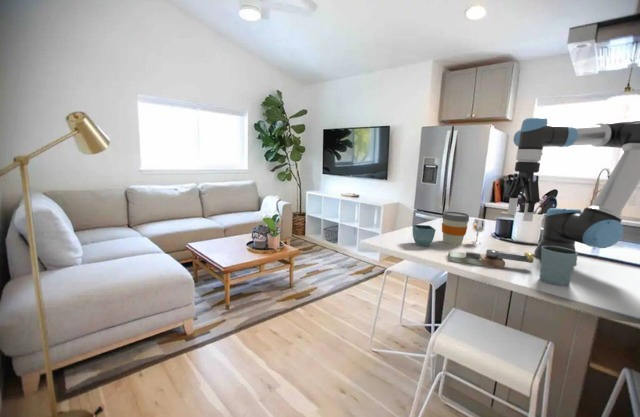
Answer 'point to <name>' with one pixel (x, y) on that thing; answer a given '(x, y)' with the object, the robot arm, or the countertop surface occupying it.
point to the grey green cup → (557, 265)
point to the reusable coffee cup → (454, 227)
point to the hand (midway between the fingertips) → (518, 217)
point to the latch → (510, 256)
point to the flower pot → (423, 234)
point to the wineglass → (478, 228)
